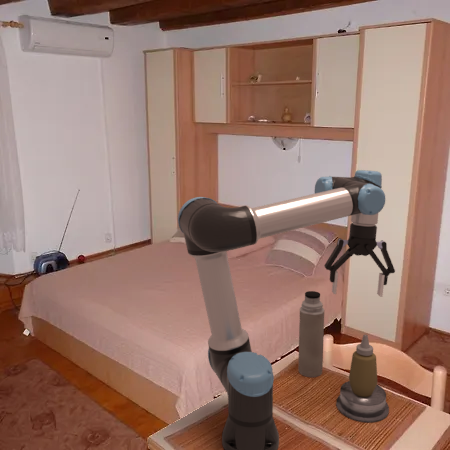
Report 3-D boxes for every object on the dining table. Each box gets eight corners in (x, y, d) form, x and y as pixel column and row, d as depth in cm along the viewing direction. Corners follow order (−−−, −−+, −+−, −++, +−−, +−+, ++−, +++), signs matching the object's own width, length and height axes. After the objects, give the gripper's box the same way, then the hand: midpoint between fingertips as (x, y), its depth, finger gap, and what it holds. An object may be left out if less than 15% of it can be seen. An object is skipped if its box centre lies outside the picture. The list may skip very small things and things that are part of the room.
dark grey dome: (340, 422, 138) (341, 406, 137) (332, 392, 153) (333, 377, 152) (395, 423, 138) (396, 407, 136) (381, 393, 152) (382, 378, 151)
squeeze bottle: (369, 403, 139) (372, 344, 135) (343, 392, 144) (345, 336, 140) (381, 390, 145) (385, 334, 140) (356, 381, 150) (359, 326, 146)
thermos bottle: (299, 364, 170) (301, 287, 164) (322, 366, 168) (325, 289, 162) (297, 375, 163) (299, 296, 156) (321, 378, 161) (324, 298, 154)
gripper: (402, 223, 146) (394, 292, 150) (318, 219, 146) (313, 288, 150) (411, 228, 139) (403, 300, 142) (323, 223, 139) (317, 295, 143)
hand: (356, 294), depth 146 cm, fingers open, 13 cm apart
